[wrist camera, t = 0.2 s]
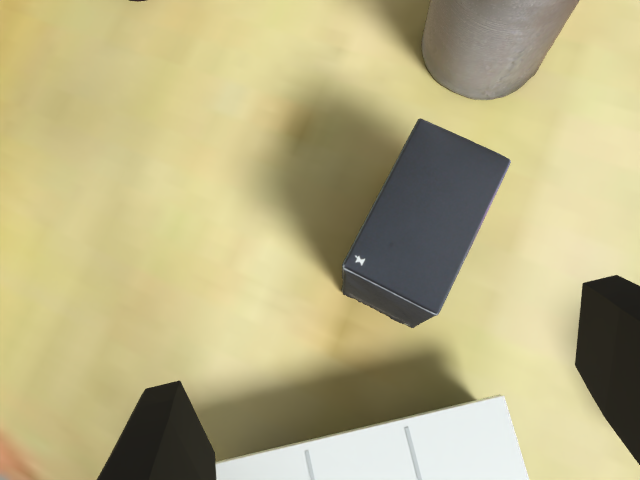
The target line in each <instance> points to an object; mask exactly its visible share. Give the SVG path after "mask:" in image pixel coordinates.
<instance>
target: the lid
mask: <svg viewBox="0 0 640 480" xmlns="http://www.w3.org/2000/svg"><path fill="white" fill-rule="evenodd" d="M215 464H216V479H217V480H529V477H528V474H527V471H526V467H525V464H524V460H523V457H522V454H521V450H520V447H519V444H518V440H517V437H516V434H515V430H514V427H513V424H512V420H511V417H510V414H509V410H508V407H507V404H506V400H505V397H504V396H503V395H496V396H492V397H487V398H483V399H479V400H475V401H470V402H466V403H462V404H458V405H454V406H449V407H445V408H441V409H437V410H432V411H428V412H424V413H420V414H416V415H411V416H407V417H403V418H399V419H394V420H390V421H386V422H382V423H378V424H373V425H369V426H365V427H361V428H356V429H352V430H348V431H344V432H340V433H335V434H331V435H327V436H323V437H318V438H314V439H310V440H306V441H302V442H297V443H293V444H289V445H285V446H280V447H276V448H272V449H268V450H264V451H259V452H255V453H251V454H247V455H242V456H238V457H234V458H230V459H226V460H221V461H217V462H215Z"/></svg>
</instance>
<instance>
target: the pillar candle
mask: <svg viewBox="0 0 640 480" xmlns="http://www.w3.org/2000/svg"><path fill="white" fill-rule="evenodd" d="M578 2H579V0H431V1H430V5H429V10H428V14H427V19H426V23H425V28H424V33H423V37H422V53H423V58H424V61H425V65H426V67H427V69H428V70H429V72H430V74H431V75H432V77H433V78H434V79H435V80H436V81H437V82H438V83H439V84H441V85H442V86H444V87H446V88H448V89H449V90H451V91H453V92H455V93H457V94H460V95H462V96H465V97H467V98H471V99H479V100H491V99H495V98H500V97H504V96H506V95H509V94H511V93H513V92H514V91H516V90H518V89H519V88H520V87H522V86H523V85H524V84H525V83H526V82H527V81H528V80H529V79H530V78H531V77H532V76H534V75H535V73H536V72H537V70H538V68H539V66H540V65H541V63H542V61H543V59H544V57H545V56H546V54H547V52H548V51H549V49H550V48H551V46H552V45H553V43H554V41H555V39H556V38H557V36H558V35H559V33H560V31H561V30H562V28H563V26H564V25H565V23H566V21H567V20H568V18H569V16H570V15H571V13H572V12H573V10H574V9H575V7H576V5H577V4H578Z"/></svg>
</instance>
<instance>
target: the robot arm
mask: <svg viewBox="0 0 640 480" xmlns="http://www.w3.org/2000/svg"><path fill="white" fill-rule="evenodd" d="M575 366H576V368H577V370H578V371H579V373H580V375H581V377H582V379H583V380H584V382H585V384H586V386H587V388H588V390H589V391H590V393H591V395H592V397H593V398H594V400H595V402H596V403H597V405H598V407H599V409H600V410H601V412H602V414H603V415H604V417H605V418H606V420H607V421H608V422H609V424H610V425H611V427H612V428H613V429H614V431H615V432H616V434H617V435H618V436H619V438H620V439H621V440H622V442H623V443H624V444H625V446H626V447H627V449H628V450H629V451H630V453H631V454H632V455H633V457H634V458H635V459H636V461H637V462H638V463H639V465H640V286H638V285H636V284H634V283H632V282H630V281H628V280H626V279H624V278H622V277H620V276H618V275H615V276H610V277H606V278H602V279H598V280H594V281H590V282H586V283H583V287H582V297H581V308H580V318H579V329H578V339H577V350H576V360H575ZM97 480H217V479H216V464H215V452H214V450H213V448H212V446H211V444H210V442H209V440H208V438H207V436H206V434H205V431H204V429H203V427H202V425H201V423H200V421H199V419H198V417H197V415H196V413H195V411H194V409H193V406H192V404H191V402H190V400H189V398H188V396H187V394H186V392H185V390H184V388H183V386H182V384H181V381H176V382H172V383H168V384H164V385H160V386H155V387H151V388H147V389H145V391H144V392H143V394H142V395H141V397H140V399H139V401H138V403H137V405H136V407H135V409H134V411H133V413H132V414H131V416H130V418H129V420H128V422H127V424H126V426H125V428H124V430H123V432H122V434H121V436H120V438H119V440H118V441H117V443H116V445H115V447H114V449H113V451H112V453H111V455H110V457H109V458H108V460H107V462H106V464H105V466H104V468H103V470H102V471H101V473H100V475H99V477H98V479H97Z"/></svg>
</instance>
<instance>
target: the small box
mask: <svg viewBox="0 0 640 480" xmlns="http://www.w3.org/2000/svg"><path fill="white" fill-rule="evenodd" d="M510 163H511V161H510V160H509V159H508V158H506V157H504V156H502V155H500V154H498V153H496V152H494V151H492V150H490V149H488V148H486V147H483V146H481V145H479V144H476V143H474V142H472V141H470V140H468V139H466V138H463V137H461V136H459V135H457V134H454V133H452V132H450V131H448V130H446V129H443V128H441V127H439V126H437V125H434V124H432V123H430V122H428V121H425V120H423V119H418V121H417V123H416V124H415V126H414V128H413V130H412V132H411V134H410V136H409V138H408V139H407V141H406V143H405V145H404V147H403V149H402V151H401V153H400V155H399V157H398V159H397V160H396V163H395V164H394V166H393V168H392V170H391V172H390V174H389V176H388V178H387V179H386V181H385V183H384V185H383V187H382V189H381V191H380V193H379V195H378V197H377V199H376V201H375V203H374V204H373V206H372V209H371V211H370V212H369V214H368V216H367V218H366V220H365V222H364V224H363V226H362V227H361V229H360V231H359V233H358V235H357V237H356V239H355V241H354V243H353V245H352V247H351V249H350V251H349V253H348V254H347V256H346V258H345V260H344V262H343V264H342V266H343V267H342V278H343V285H342V292H343V295H346V296H347V297H350V298H354V299H356V300H358V302H362V303H363V304H365V305H368V306H370V307H371V308H374V309H375V310H377V311H379V312H380V313H383V314H385V315H387V316H389V317H390V318H391V319H393V320H395V321H397V322H399V323H402V324H405V325H407V326H409V327H411V328H414V327H415V326H417V325H419V324H420V323H422V322H424V321H426V320H428V319H430V318H432V317H433V316H436V315H438V314H439V312H440V310H441V308H442V306H443V304H444V302H445V300H446V298H447V296H448V294H449V292H450V289H451V287H452V285H453V283H454V281H455V279H456V277H457V275H458V273H459V271H460V269H461V266H462V264H463V262H464V260H465V258H466V256H467V254H468V252H469V250H470V248H471V246H472V244H473V242H474V240H475V237H476V235H477V233H478V231H479V229H480V227H481V225H482V223H483V221H484V218H485V216H486V214H487V212H488V210H489V208H490V206H491V204H492V201H493V199H494V197H495V195H496V193H497V191H498V189H499V187H500V184H501V182H502V180H503V178H504V176H505V174H506V172H507V169H508V167H509V165H510Z"/></svg>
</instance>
